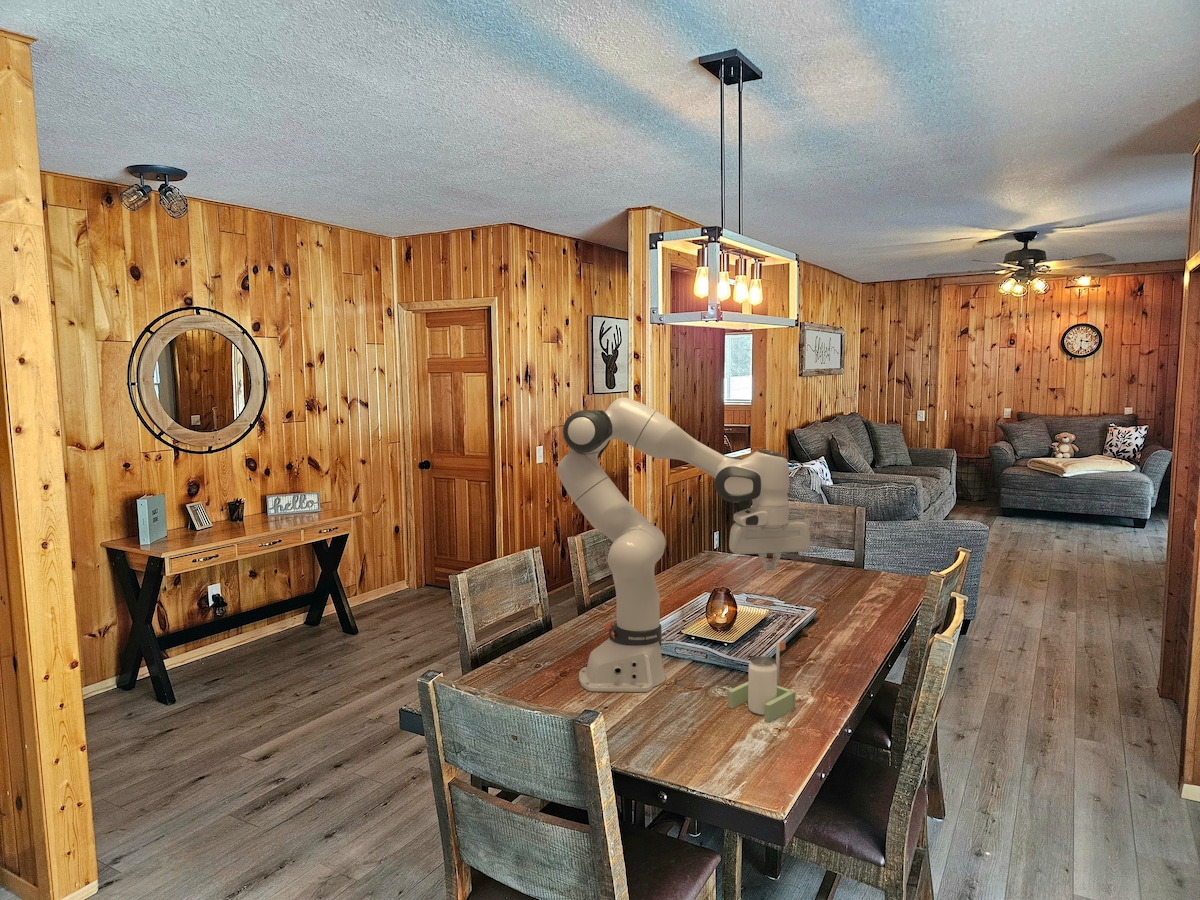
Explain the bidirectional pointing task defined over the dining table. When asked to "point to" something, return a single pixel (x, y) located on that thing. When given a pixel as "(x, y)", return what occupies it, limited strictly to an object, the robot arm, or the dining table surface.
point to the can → (761, 683)
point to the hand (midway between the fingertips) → (769, 569)
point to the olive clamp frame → (775, 706)
